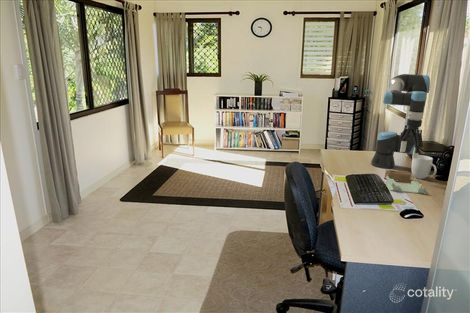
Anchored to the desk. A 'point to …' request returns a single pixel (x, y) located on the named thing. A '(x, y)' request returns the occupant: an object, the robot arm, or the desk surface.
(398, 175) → the door
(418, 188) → the carcass
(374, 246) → the desk surface
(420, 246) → the desk surface
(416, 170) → the mug
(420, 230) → the desk surface
